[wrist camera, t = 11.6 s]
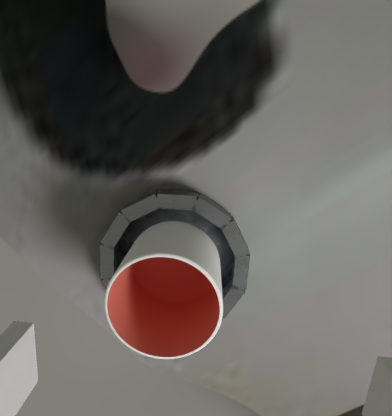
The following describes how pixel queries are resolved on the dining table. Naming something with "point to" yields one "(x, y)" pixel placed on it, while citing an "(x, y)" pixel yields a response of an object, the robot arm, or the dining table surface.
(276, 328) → the dining table surface
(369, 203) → the dining table surface
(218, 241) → the ring coaster
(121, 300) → the cup
